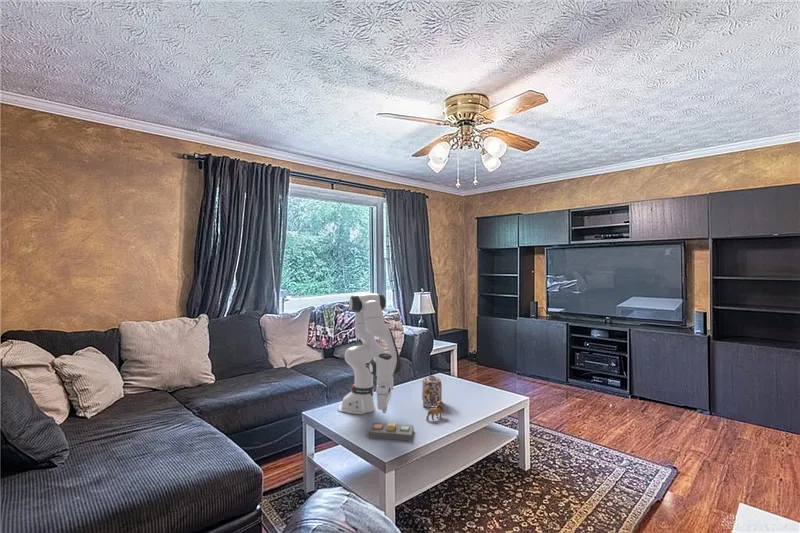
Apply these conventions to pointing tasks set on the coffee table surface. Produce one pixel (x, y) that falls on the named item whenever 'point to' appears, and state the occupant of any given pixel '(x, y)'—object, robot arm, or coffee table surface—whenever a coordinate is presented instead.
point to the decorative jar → (431, 391)
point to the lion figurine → (436, 410)
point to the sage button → (405, 428)
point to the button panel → (390, 432)
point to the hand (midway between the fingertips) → (384, 412)
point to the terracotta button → (378, 427)
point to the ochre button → (391, 426)
